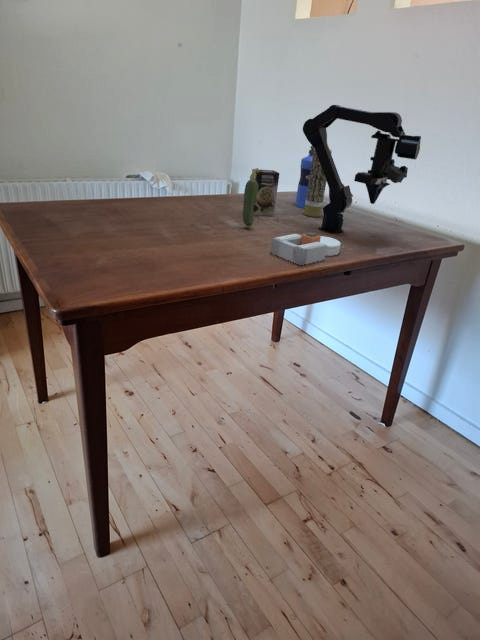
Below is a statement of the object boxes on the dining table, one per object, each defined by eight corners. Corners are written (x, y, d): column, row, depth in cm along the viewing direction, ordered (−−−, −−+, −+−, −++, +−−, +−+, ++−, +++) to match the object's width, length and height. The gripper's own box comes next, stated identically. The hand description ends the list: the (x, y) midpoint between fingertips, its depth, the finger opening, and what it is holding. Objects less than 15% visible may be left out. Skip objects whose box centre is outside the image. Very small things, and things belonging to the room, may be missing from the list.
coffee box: (252, 215, 172) (256, 171, 165) (247, 211, 177) (251, 168, 170) (274, 216, 174) (280, 172, 167) (269, 211, 180) (274, 169, 173)
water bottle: (291, 203, 198) (300, 142, 186) (310, 203, 201) (320, 143, 189) (300, 208, 190) (309, 145, 179) (320, 209, 193) (330, 146, 181)
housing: (270, 253, 133) (272, 237, 131) (294, 248, 140) (296, 232, 138) (300, 265, 126) (303, 249, 124) (324, 259, 132) (327, 244, 130)
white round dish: (339, 249, 144) (341, 238, 143) (338, 258, 135) (340, 247, 134) (308, 244, 146) (310, 233, 144) (305, 253, 137) (306, 242, 135)
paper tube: (321, 218, 178) (333, 151, 167) (304, 216, 178) (315, 149, 167) (319, 214, 184) (330, 149, 173) (302, 212, 184) (312, 147, 173)
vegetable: (238, 227, 155) (244, 167, 146) (244, 225, 158) (250, 165, 149) (250, 230, 153) (256, 169, 144) (256, 228, 157) (262, 167, 148)
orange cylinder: (298, 252, 136) (302, 232, 133) (307, 250, 138) (310, 230, 136) (309, 256, 133) (312, 236, 131) (317, 254, 136) (321, 234, 133)
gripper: (389, 159, 134) (377, 212, 141) (420, 158, 146) (408, 206, 153) (358, 153, 141) (348, 203, 149) (390, 153, 153) (379, 199, 160)
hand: (372, 203), depth 152 cm, fingers closed
